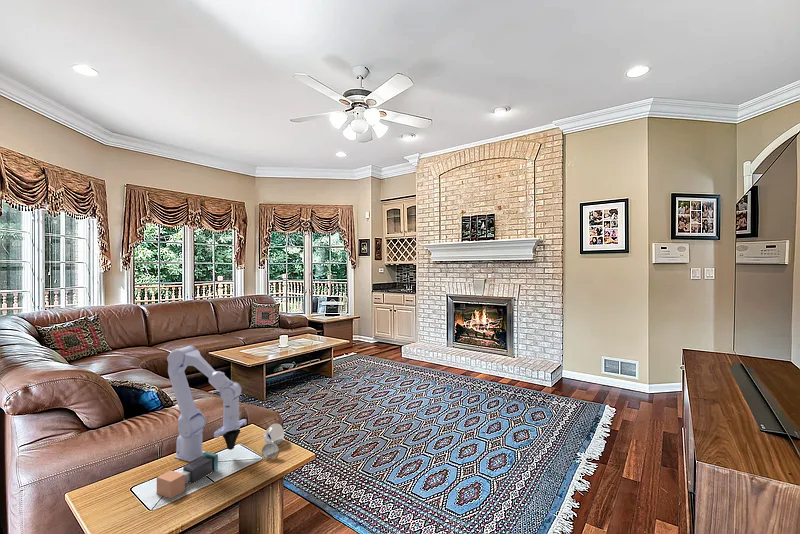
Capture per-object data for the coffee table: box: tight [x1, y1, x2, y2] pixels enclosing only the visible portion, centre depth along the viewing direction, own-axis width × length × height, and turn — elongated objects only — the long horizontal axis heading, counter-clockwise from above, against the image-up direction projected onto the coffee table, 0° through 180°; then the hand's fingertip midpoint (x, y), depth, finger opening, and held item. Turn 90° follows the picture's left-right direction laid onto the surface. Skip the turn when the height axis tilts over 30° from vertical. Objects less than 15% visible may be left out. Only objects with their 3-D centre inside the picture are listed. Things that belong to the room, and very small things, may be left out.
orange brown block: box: [156, 469, 186, 499], centre depth 128 cm, size 7×5×6 cm
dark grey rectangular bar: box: [182, 456, 213, 484], centre depth 138 cm, size 5×8×5 cm, turn 157°
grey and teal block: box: [180, 451, 219, 484], centre depth 136 cm, size 6×16×6 cm, turn 157°
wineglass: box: [261, 423, 285, 459], centre depth 160 cm, size 8×8×18 cm
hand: (230, 448), depth 152 cm, fingers closed
